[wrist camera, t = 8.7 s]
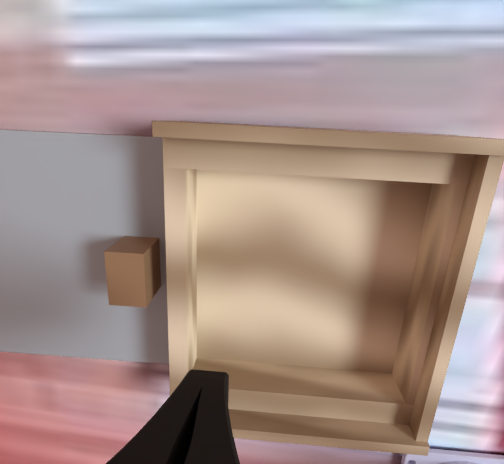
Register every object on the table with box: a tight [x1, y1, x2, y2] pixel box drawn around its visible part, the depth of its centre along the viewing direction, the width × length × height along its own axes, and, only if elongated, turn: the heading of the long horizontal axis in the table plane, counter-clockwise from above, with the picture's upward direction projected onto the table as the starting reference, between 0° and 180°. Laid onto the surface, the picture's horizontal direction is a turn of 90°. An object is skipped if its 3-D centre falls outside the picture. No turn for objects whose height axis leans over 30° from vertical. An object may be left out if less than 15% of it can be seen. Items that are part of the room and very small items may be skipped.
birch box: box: [152, 121, 504, 456], centre depth 18 cm, size 16×14×4 cm
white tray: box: [0, 130, 169, 364], centre depth 19 cm, size 14×13×4 cm
